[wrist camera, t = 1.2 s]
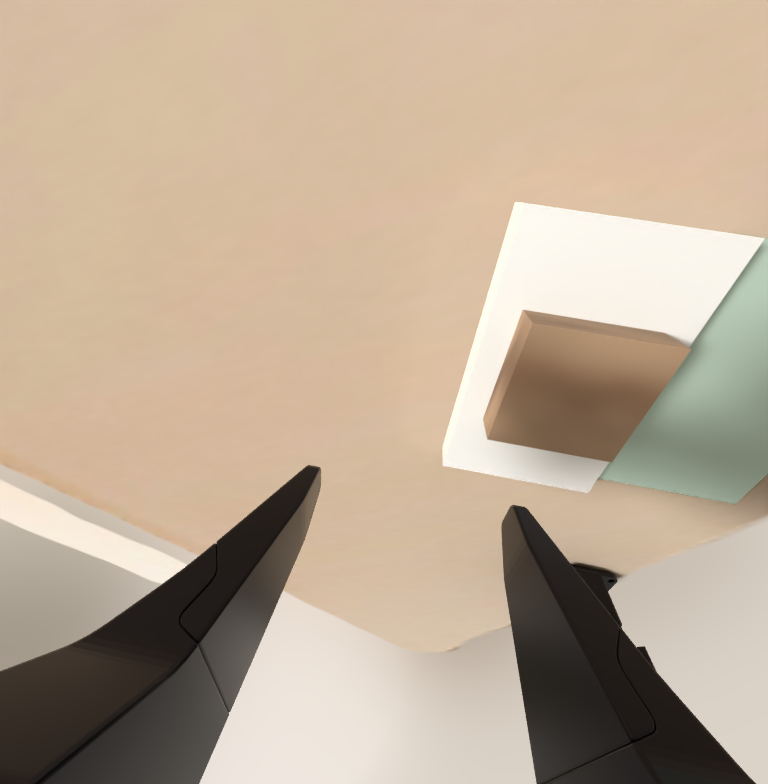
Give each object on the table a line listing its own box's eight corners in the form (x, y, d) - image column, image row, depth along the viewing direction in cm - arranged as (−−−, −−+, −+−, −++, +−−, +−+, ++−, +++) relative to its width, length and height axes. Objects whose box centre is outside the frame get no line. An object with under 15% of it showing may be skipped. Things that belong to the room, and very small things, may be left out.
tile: (596, 439, 20) (612, 462, 18) (482, 418, 20) (487, 439, 18) (664, 332, 16) (691, 349, 14) (522, 309, 16) (532, 322, 15)
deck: (576, 471, 24) (587, 493, 22) (442, 446, 24) (442, 465, 23) (728, 233, 15) (764, 238, 13) (515, 201, 16) (524, 203, 14)
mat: (731, 500, 23) (734, 504, 23) (579, 472, 24) (581, 475, 23) (979, 270, 15) (989, 271, 14) (733, 233, 15) (737, 234, 15)
